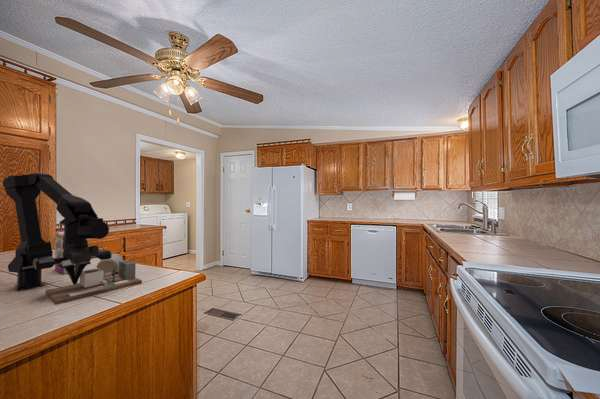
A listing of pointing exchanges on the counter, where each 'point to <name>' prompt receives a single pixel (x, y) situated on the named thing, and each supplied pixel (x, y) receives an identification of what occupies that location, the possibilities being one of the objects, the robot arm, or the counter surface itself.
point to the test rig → (78, 291)
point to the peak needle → (113, 276)
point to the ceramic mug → (110, 263)
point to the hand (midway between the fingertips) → (74, 283)
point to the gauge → (93, 277)
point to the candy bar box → (59, 251)
